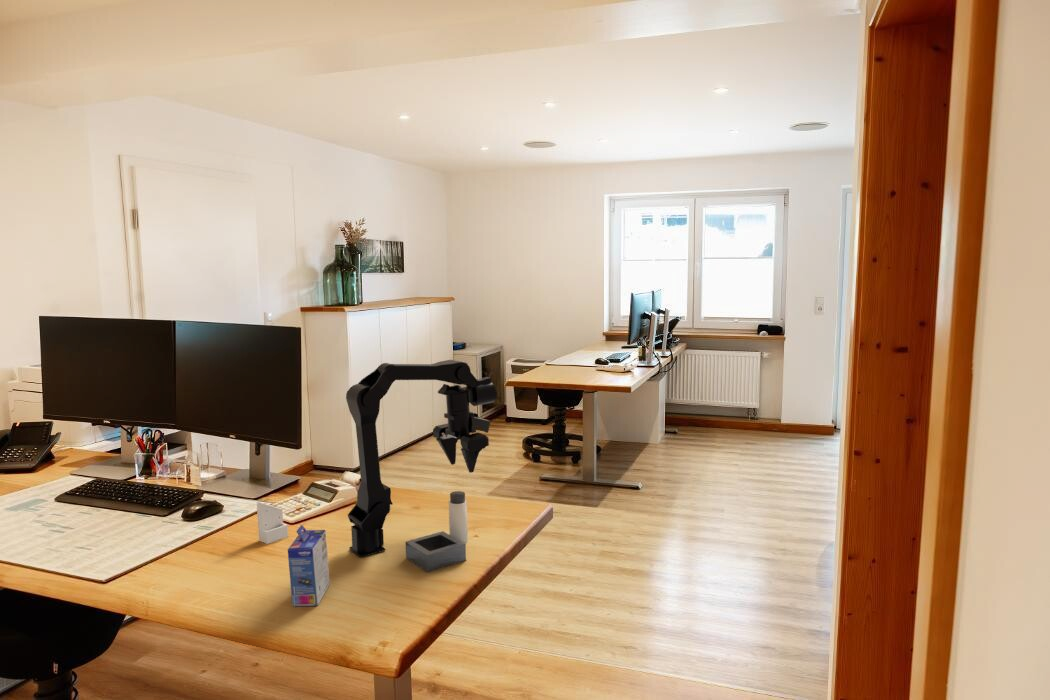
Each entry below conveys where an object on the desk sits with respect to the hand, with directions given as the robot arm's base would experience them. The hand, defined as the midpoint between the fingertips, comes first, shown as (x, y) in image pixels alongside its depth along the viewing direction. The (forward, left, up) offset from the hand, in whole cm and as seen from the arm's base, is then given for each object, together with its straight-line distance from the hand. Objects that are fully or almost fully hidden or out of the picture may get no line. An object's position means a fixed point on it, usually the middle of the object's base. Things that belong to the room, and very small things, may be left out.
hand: (462, 468), depth 178 cm
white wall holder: (-42, +23, -16) cm, 50 cm away
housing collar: (-17, -14, -15) cm, 27 cm away
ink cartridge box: (-46, -13, -16) cm, 50 cm away
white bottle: (-7, -8, -15) cm, 19 cm away
